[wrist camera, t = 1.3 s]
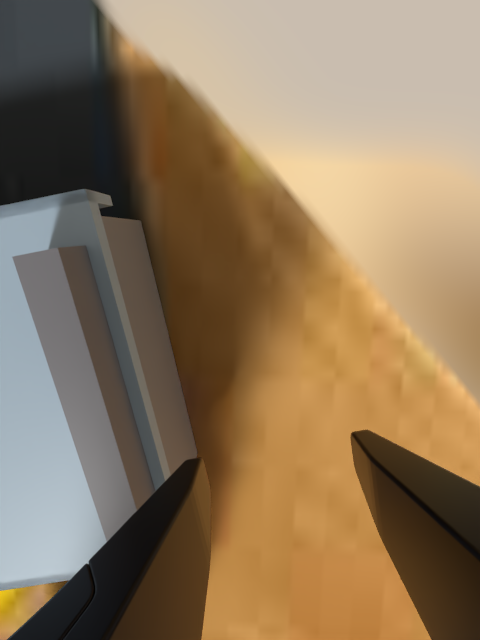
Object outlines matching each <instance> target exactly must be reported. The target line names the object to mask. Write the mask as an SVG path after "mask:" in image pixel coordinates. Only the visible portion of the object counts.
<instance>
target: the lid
mask: <svg viewBox="0 0 480 640" xmlns="http://www.w3.org/2000/svg"><path fill="white" fill-rule="evenodd" d="M110 206H113V204H112V200H111V197H110V195H106V194H103V193H99V192H95V191H92V190H88V189H81V190H76V191H71V192H66V193H61V194H56V195H51V196H47V197H42V198H37V199H32V200H27V201H22V202H17V203H12V204H7V205H3V206H0V591H2V590H8V589H15V588H21V587H28V586H34V585H41V584H47V583H54V582H61V581H67V580H70V579H71V578H72V577H73V576H74V575H75V574H76V573H77V572H78V571H79V570H80V569H81V568H82V567H83V566H84V565H85V564H86V563H87V564H88V561H89V560H90V559H91V558H92V556H93V555H94V554H95V553H96V552H97V551H98V550H99V549H100V548H101V547H102V546H103V545H104V544H105V543H106V542H107V541H108V540H109V539H110V538H111V537H112V536H113V535H114V534H115V533H116V532H117V531H118V530H119V529H120V527H121V526H122V525H123V524H124V523H125V522H126V521H127V520H128V519H129V518H130V517H131V516H132V515H133V514H134V513H135V512H136V511H137V510H138V509H139V508H140V507H141V506H142V505H143V504H144V503H145V502H146V501H147V499H148V498H149V497H150V496H151V495H152V494H153V493H154V492H155V491H156V490H157V489H158V488H159V487H160V486H161V485H162V484H163V483H164V482H165V481H166V480H167V479H168V478H169V477H170V476H171V474H170V471H169V467H168V463H167V459H166V456H165V452H164V448H163V444H162V441H161V437H160V433H159V430H158V426H157V422H156V418H155V415H154V411H153V407H152V403H151V400H150V396H149V392H148V389H147V385H146V381H145V377H144V374H143V370H142V366H141V363H140V359H139V355H138V351H137V348H136V344H135V340H134V336H133V333H132V329H131V325H130V322H129V318H128V314H127V310H126V307H125V303H124V299H123V296H122V292H121V288H120V284H119V281H118V277H117V273H116V269H115V266H114V262H113V258H112V255H111V251H110V247H109V243H108V240H107V236H106V232H105V229H104V225H103V221H102V217H101V214H100V210H99V209H100V208H105V207H110Z"/></svg>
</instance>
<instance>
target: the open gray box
mask: <svg viewBox="0 0 480 640" xmlns="http://www.w3.org/2000/svg"><path fill="white" fill-rule="evenodd" d="M101 217H102V221H103V225H104V229H105V232H106V236H107V240H108V243H109V247H110V251H111V255H112V258H113V262H114V266H115V269H116V273H117V277H118V281H119V284H120V288H121V292H122V296H123V299H124V303H125V307H126V310H127V314H128V318H129V322H130V325H131V329H132V333H133V336H134V340H135V344H136V348H137V351H138V355H139V359H140V363H141V366H142V370H143V374H144V377H145V381H146V385H147V389H148V392H149V396H150V400H151V403H152V407H153V411H154V415H155V418H156V422H157V426H158V430H159V433H160V437H161V441H162V444H163V448H164V452H165V456H166V459H167V463H168V467H169V471H170V474H171V475H172V474H173V473H174V472H175V470H176V469H177V468H178V467H179V466H180V465H181V464H182V463H183V462H184V461H185V460H187V459H193V458H197V453H198V452H197V448H196V444H195V440H194V436H193V432H192V428H191V424H190V420H189V416H188V412H187V408H186V403H185V399H184V395H183V391H182V387H181V383H180V379H179V375H178V371H177V367H176V363H175V358H174V354H173V350H172V346H171V342H170V338H169V334H168V330H167V326H166V322H165V318H164V314H163V309H162V305H161V301H160V297H159V293H158V289H157V285H156V281H155V277H154V273H153V269H152V264H151V260H150V256H149V252H148V248H147V244H146V240H145V236H144V232H143V228H142V224H141V221H140V220H131V219H123V218H114V217H106V216H101Z"/></svg>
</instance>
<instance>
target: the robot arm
mask: <svg viewBox="0 0 480 640" xmlns="http://www.w3.org/2000/svg"><path fill="white" fill-rule="evenodd" d="M351 445H352V453H353V460H354V466H355V470H356V473H357V476H358V479H359V481H360V484H361V487H362V490H363V492H364V495H365V498H366V500H367V503H368V506H369V509H370V511H371V514H372V517H373V520H374V522H375V525H376V527H377V530H378V532H379V535H380V537H381V539H382V541H383V543H384V545H385V547H386V549H387V551H388V553H389V555H390V557H391V559H392V561H393V563H394V565H395V567H396V569H397V571H398V573H399V575H400V577H401V579H402V581H403V583H404V585H405V587H406V589H407V591H408V593H409V595H410V597H411V599H412V601H413V603H414V605H415V607H416V609H417V611H418V613H419V615H420V617H421V619H422V621H423V623H424V625H425V627H426V629H427V631H428V633H429V635H430V637H431V639H432V640H480V487H479V486H477V485H475V484H473V483H471V482H470V481H468V480H466V479H464V478H462V477H460V476H458V475H456V474H454V473H452V472H450V471H448V470H446V469H444V468H442V467H440V466H438V465H436V464H434V463H432V462H430V461H428V460H426V459H424V458H422V457H421V456H419V455H417V454H415V453H413V452H411V451H409V450H407V449H405V448H403V447H401V446H399V445H397V444H395V443H393V442H391V441H389V440H387V439H385V438H383V437H381V436H379V435H377V434H375V433H373V432H372V431H369V430H361V431H355V432H352V433H351ZM210 556H211V489H210V484H209V480H208V476H207V471H206V467H205V463H204V460H203V459H202V458H193V459H187V460H185V461H184V462H183V463H182V464H181V465H180V466H179V467H178V468H177V469H176V470H175V472H174V473H173V474H172V475H171V476H170V477H169V478H168V479H167V480H166V481H165V482H164V483H163V484H162V485H161V486H160V487H159V488H158V489H157V490H156V491H155V492H154V493H153V494H152V495H151V496H150V497H149V498H148V499H147V501H146V502H145V503H144V504H143V505H142V506H141V507H140V508H139V509H138V510H137V511H136V512H135V513H134V514H133V515H132V516H131V517H130V518H129V519H128V520H127V521H126V522H125V523H124V524H123V525H122V526H121V527H120V529H119V530H118V531H117V532H116V533H115V534H114V535H113V536H112V537H111V538H110V539H109V540H108V541H107V542H106V543H105V544H104V545H103V546H102V547H101V548H100V549H99V550H98V551H97V552H96V553H95V554H94V555H93V556H92V558H91V559H90V560H89V561H88V564H87V563H86V564H85V565H84V566H83V567H82V568H81V569H80V570H79V571H78V572H77V573H76V574H75V575H74V576H73V577H72V578H71V579H70V580H69V581H68V582H67V583H66V584H65V585H64V586H63V587H62V588H61V589H60V590H59V591H58V592H57V593H56V594H55V595H54V596H53V597H52V598H51V599H50V600H49V601H48V602H47V603H46V604H45V605H44V606H43V607H42V608H41V609H40V610H39V611H37V612H36V613H35V614H34V615H33V616H32V617H31V618H30V619H29V620H28V621H27V622H26V623H25V624H24V625H22V626H21V627H20V628H19V629H18V630H17V631H16V632H15V633H14V634H13V635H12V636H10V637H9V638H8V639H7V640H201V637H202V628H203V620H204V612H205V603H206V595H207V587H208V578H209V569H210Z"/></svg>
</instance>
